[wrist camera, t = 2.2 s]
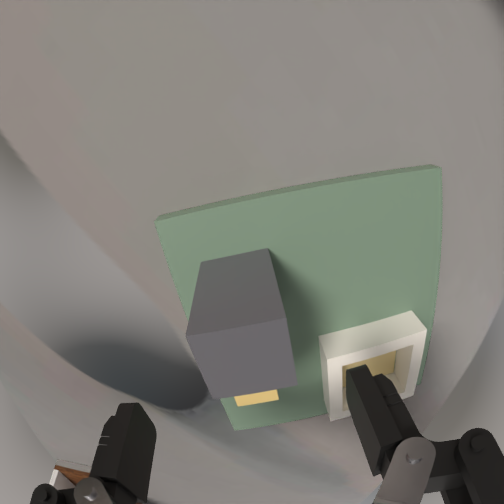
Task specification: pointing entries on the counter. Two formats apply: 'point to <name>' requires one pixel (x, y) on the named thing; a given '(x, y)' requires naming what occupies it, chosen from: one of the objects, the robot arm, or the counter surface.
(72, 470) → the white tall box
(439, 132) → the counter surface
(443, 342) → the counter surface
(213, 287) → the plug
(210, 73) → the counter surface
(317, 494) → the counter surface
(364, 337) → the board
